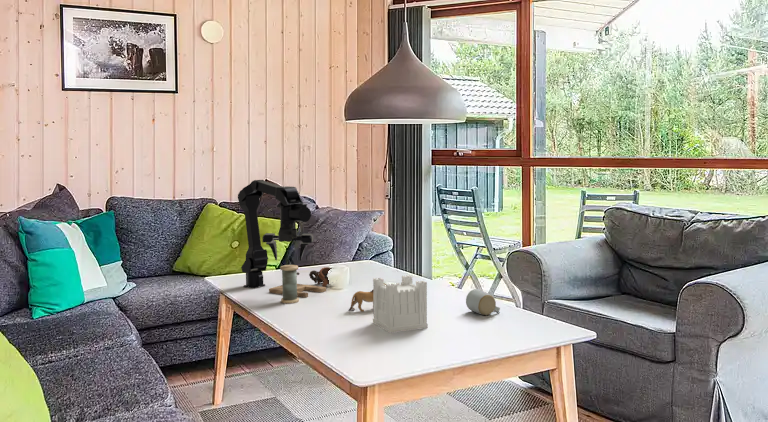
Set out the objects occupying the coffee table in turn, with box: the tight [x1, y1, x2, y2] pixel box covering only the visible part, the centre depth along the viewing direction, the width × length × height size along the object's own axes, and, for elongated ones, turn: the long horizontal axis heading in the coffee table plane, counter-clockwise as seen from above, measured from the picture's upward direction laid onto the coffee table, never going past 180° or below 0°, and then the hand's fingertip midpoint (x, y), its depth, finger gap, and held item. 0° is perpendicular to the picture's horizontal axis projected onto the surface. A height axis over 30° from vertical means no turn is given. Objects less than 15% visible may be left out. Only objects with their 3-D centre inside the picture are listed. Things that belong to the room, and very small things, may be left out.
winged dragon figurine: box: [308, 266, 333, 288], centre depth 270 cm, size 12×10×8 cm
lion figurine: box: [347, 282, 387, 313], centre depth 227 cm, size 15×5×9 cm, turn 116°
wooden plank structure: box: [268, 272, 327, 298], centre depth 258 cm, size 18×13×6 cm
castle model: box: [372, 274, 429, 334], centre depth 207 cm, size 13×15×14 cm
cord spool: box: [279, 264, 300, 304], centre depth 241 cm, size 6×6×13 cm
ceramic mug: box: [465, 288, 501, 316], centre depth 222 cm, size 11×8×8 cm
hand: (288, 260), depth 252 cm, fingers open, 9 cm apart
